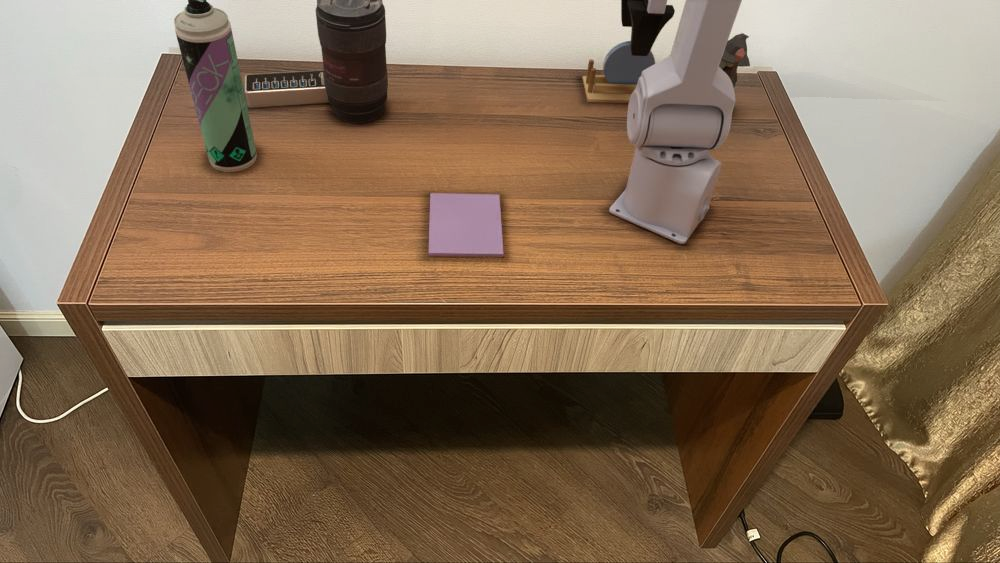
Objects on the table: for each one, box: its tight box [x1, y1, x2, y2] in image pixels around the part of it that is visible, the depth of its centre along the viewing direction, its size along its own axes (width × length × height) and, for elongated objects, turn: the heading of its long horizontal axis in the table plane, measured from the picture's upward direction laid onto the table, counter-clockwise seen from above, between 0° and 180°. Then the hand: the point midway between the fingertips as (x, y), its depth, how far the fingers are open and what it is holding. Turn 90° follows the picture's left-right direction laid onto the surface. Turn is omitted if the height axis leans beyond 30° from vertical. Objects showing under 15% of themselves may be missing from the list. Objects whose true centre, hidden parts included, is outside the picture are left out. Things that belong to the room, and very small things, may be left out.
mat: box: [428, 192, 505, 258], centre depth 84 cm, size 10×8×1 cm
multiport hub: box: [244, 69, 330, 109], centre depth 99 cm, size 4×11×2 cm, turn 103°
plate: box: [602, 40, 656, 85], centre depth 103 cm, size 7×1×7 cm, turn 93°
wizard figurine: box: [719, 32, 751, 89], centre depth 99 cm, size 8×6×12 cm
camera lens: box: [315, 0, 389, 124], centre depth 93 cm, size 8×8×15 cm
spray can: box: [173, 0, 258, 173], centre depth 83 cm, size 6×6×20 cm
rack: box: [581, 59, 637, 104], centre depth 104 cm, size 11×6×4 cm, turn 93°
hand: (634, 39), depth 100 cm, fingers open, 7 cm apart
